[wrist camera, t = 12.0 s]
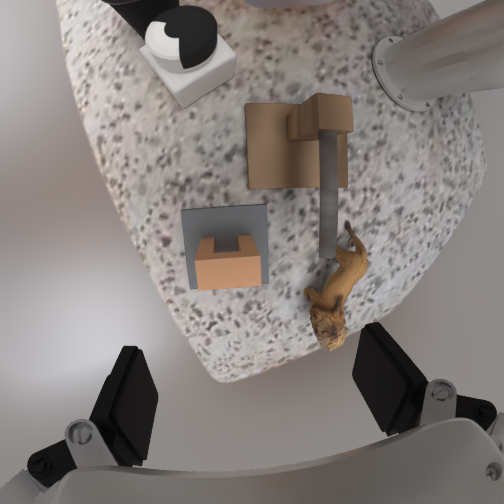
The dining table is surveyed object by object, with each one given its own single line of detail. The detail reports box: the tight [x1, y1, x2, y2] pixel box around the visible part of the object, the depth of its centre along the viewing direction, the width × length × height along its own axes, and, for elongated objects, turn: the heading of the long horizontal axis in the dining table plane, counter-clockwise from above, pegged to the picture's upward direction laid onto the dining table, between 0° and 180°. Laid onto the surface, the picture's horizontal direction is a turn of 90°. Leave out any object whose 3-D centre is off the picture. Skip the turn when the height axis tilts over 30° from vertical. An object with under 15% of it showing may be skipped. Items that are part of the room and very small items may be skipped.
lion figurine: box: [304, 221, 369, 351], centre depth 32 cm, size 15×5×9 cm, turn 164°
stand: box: [245, 93, 354, 259], centre depth 25 cm, size 12×16×12 cm
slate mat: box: [181, 204, 269, 289], centre depth 33 cm, size 10×10×1 cm
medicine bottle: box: [140, 6, 236, 108], centre depth 21 cm, size 7×7×12 cm
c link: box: [195, 235, 261, 291], centre depth 29 cm, size 6×3×8 cm, turn 92°
